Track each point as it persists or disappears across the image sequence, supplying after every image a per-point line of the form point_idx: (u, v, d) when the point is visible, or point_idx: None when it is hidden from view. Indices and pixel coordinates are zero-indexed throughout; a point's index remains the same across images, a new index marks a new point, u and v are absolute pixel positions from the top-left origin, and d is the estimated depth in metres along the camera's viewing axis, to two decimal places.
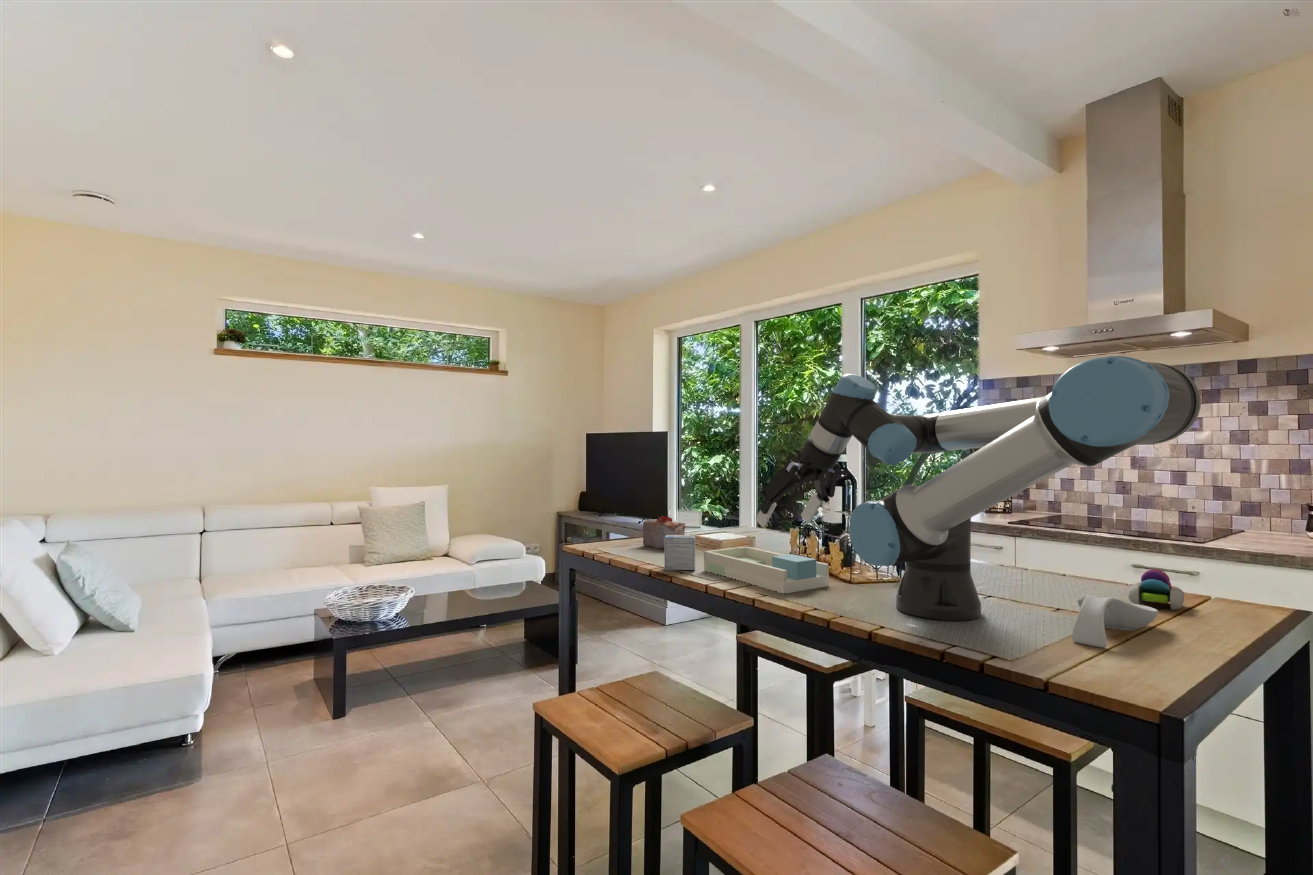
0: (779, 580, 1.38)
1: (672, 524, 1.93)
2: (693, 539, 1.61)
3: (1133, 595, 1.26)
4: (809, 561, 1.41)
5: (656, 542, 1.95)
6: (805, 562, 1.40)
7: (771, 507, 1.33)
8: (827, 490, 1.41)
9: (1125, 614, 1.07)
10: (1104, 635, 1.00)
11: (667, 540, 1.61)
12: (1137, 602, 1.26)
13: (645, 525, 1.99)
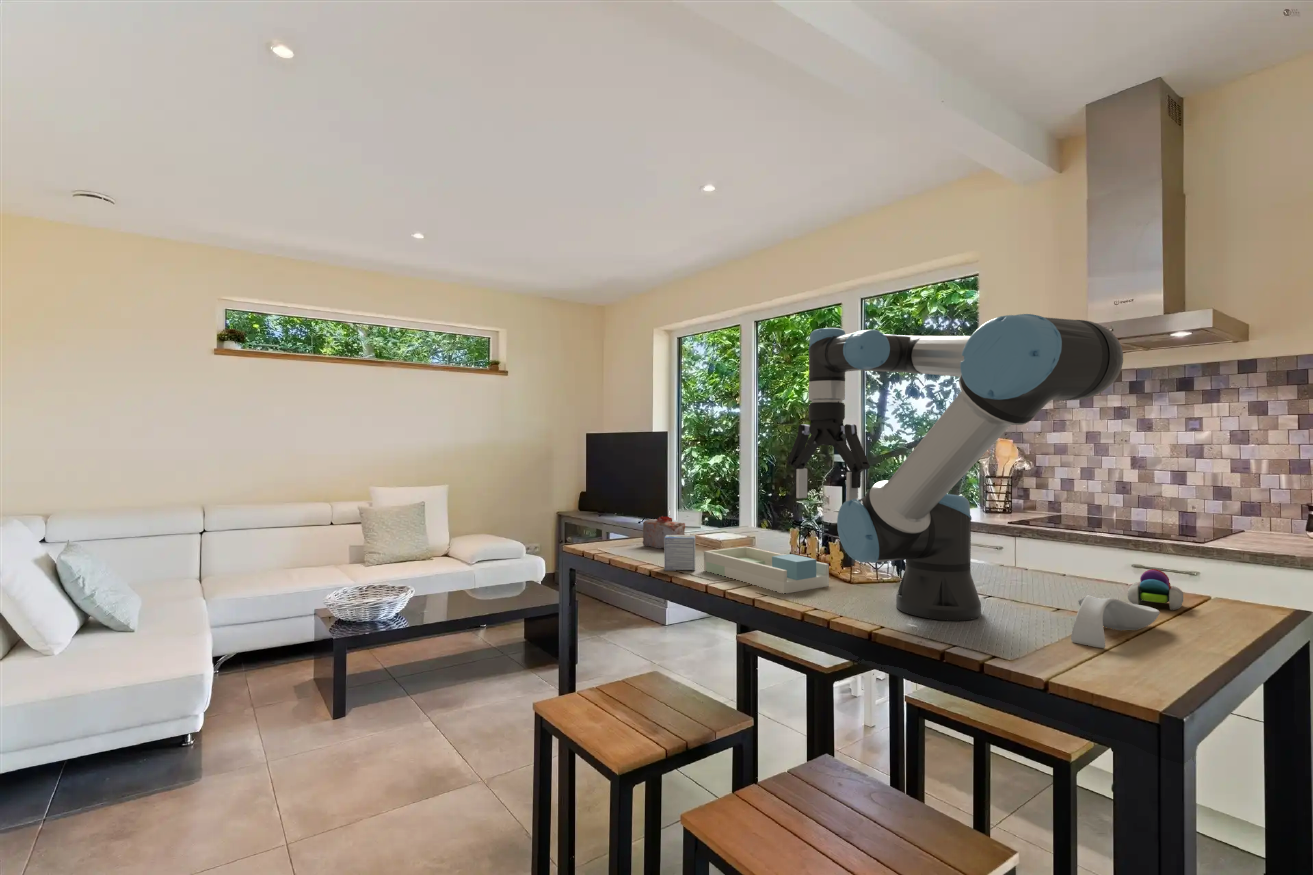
0: (779, 580, 1.38)
1: (672, 524, 1.93)
2: (693, 539, 1.61)
3: (1132, 595, 1.26)
4: (809, 561, 1.41)
5: (656, 542, 1.95)
6: (805, 562, 1.40)
7: None
8: None
9: (1126, 614, 1.07)
10: (1103, 635, 1.00)
11: (667, 540, 1.61)
12: (1136, 602, 1.26)
13: (645, 525, 1.99)
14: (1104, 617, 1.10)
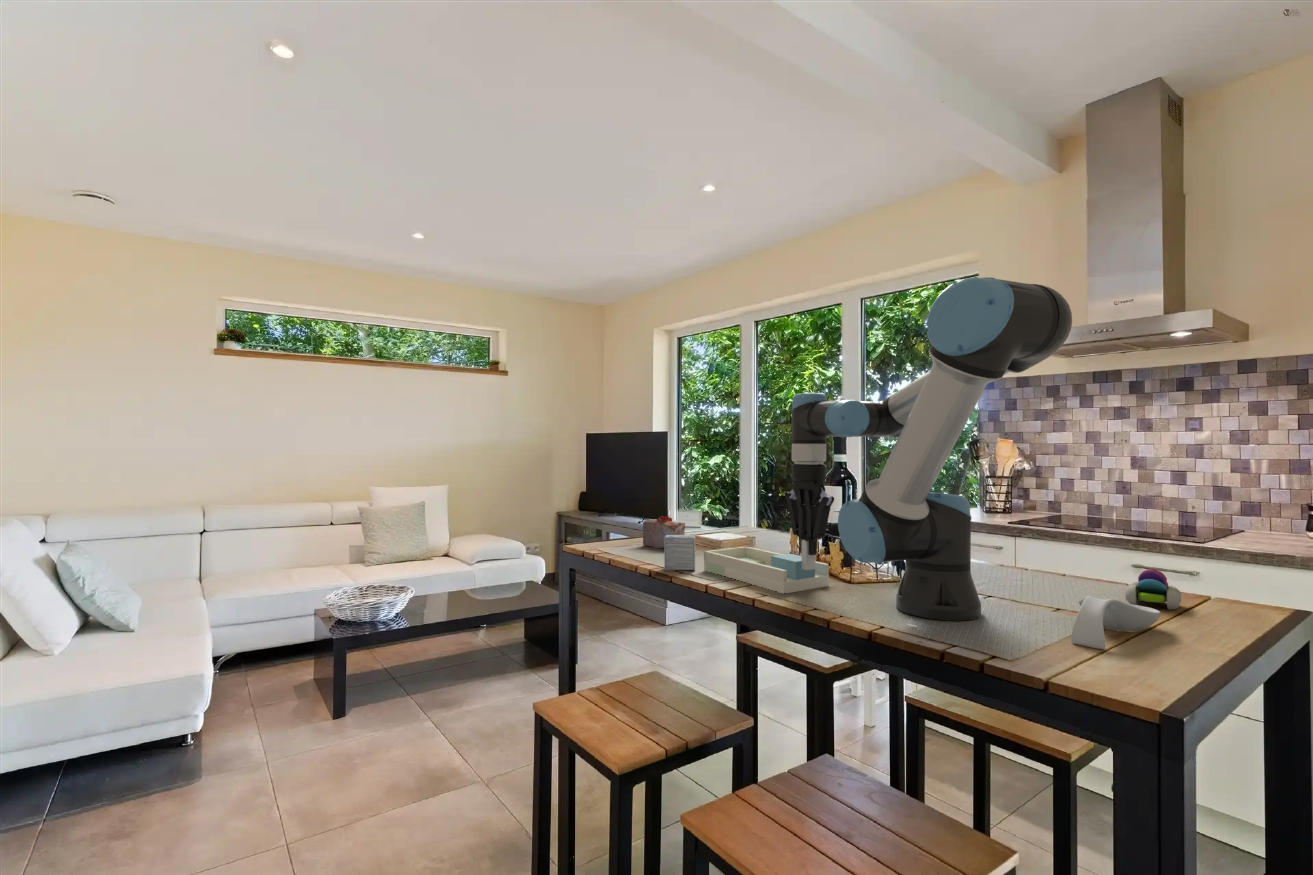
0: (779, 580, 1.38)
1: (672, 524, 1.93)
2: (693, 539, 1.61)
3: (1130, 595, 1.26)
4: None
5: (656, 542, 1.96)
6: None
7: None
8: None
9: (1126, 615, 1.07)
10: (1103, 637, 1.00)
11: (667, 540, 1.61)
12: (1134, 602, 1.26)
13: (645, 525, 1.99)
14: (1105, 618, 1.09)
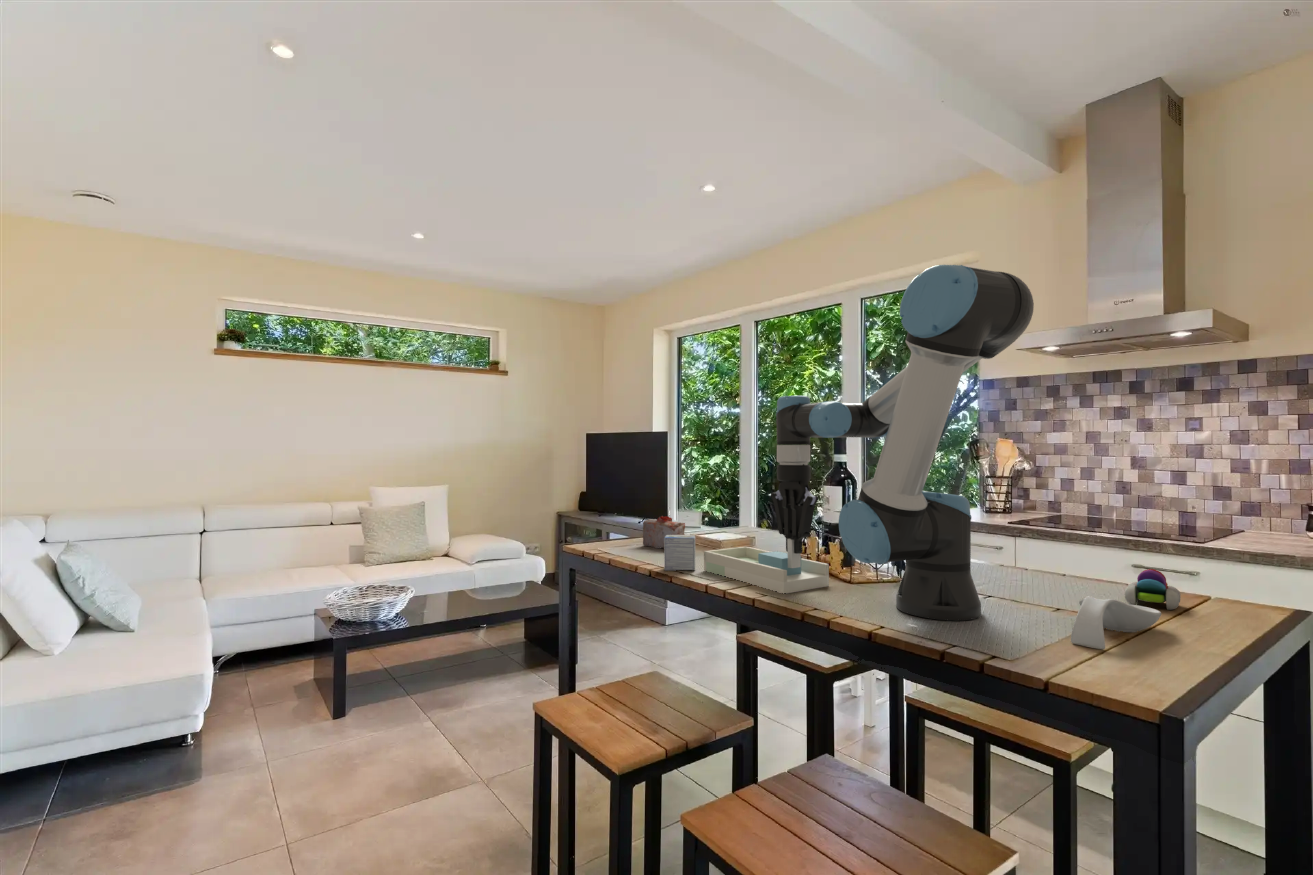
0: (779, 580, 1.38)
1: (672, 524, 1.93)
2: (693, 539, 1.61)
3: (1129, 595, 1.26)
4: None
5: (656, 542, 1.96)
6: None
7: None
8: None
9: (1127, 615, 1.06)
10: (1103, 637, 1.00)
11: (667, 540, 1.61)
12: (1133, 602, 1.26)
13: (645, 524, 1.99)
14: (1105, 618, 1.09)
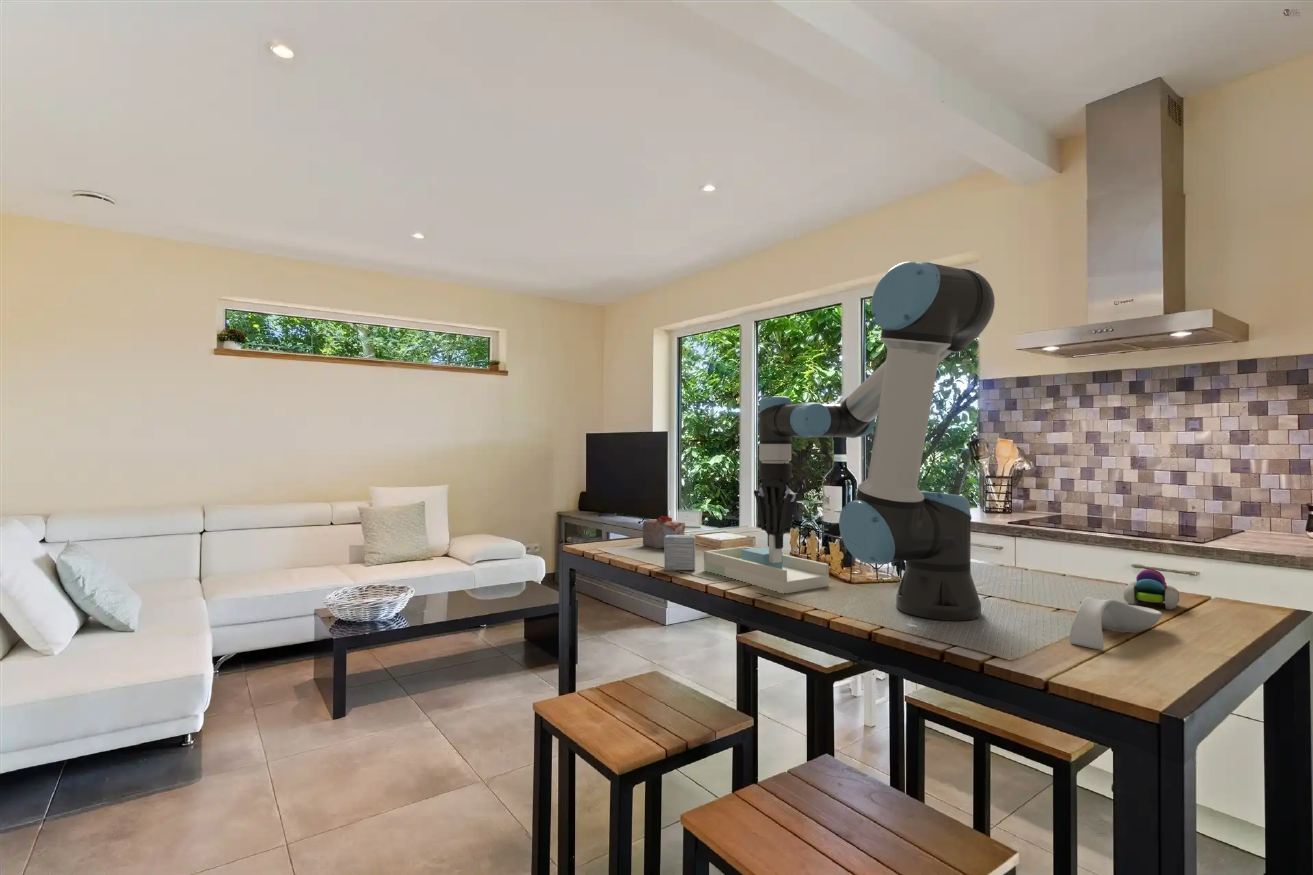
0: (779, 580, 1.38)
1: (672, 524, 1.93)
2: (693, 539, 1.61)
3: (1128, 595, 1.27)
4: None
5: (656, 542, 1.96)
6: None
7: None
8: None
9: (1126, 616, 1.06)
10: (1101, 637, 0.99)
11: (667, 540, 1.61)
12: (1132, 602, 1.26)
13: (644, 525, 1.99)
14: (1105, 619, 1.09)
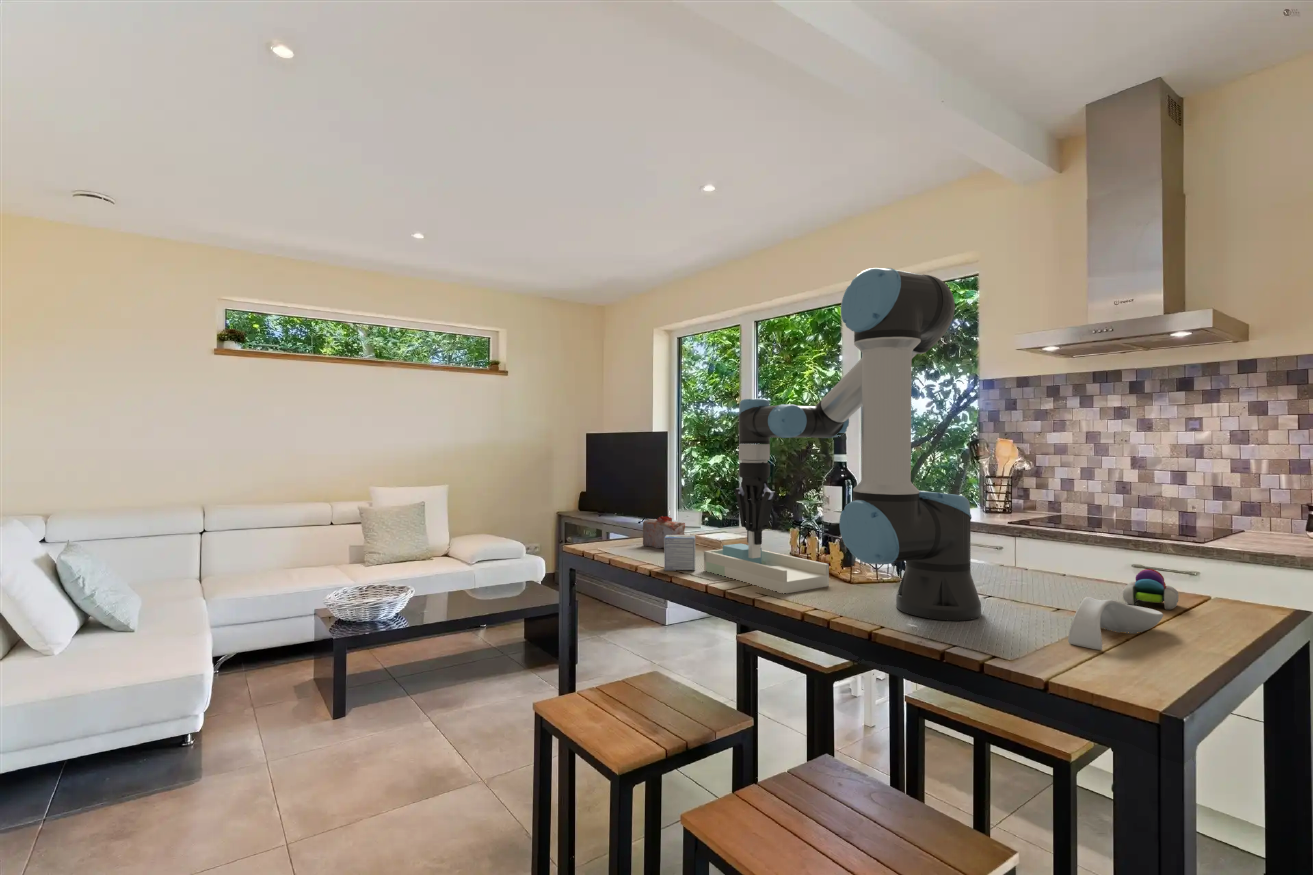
0: (779, 580, 1.38)
1: (672, 524, 1.93)
2: (693, 539, 1.61)
3: (1127, 595, 1.27)
4: None
5: (656, 542, 1.96)
6: None
7: None
8: None
9: (1127, 616, 1.06)
10: (1100, 637, 0.99)
11: (667, 540, 1.61)
12: (1131, 602, 1.26)
13: (644, 524, 1.99)
14: (1105, 619, 1.08)
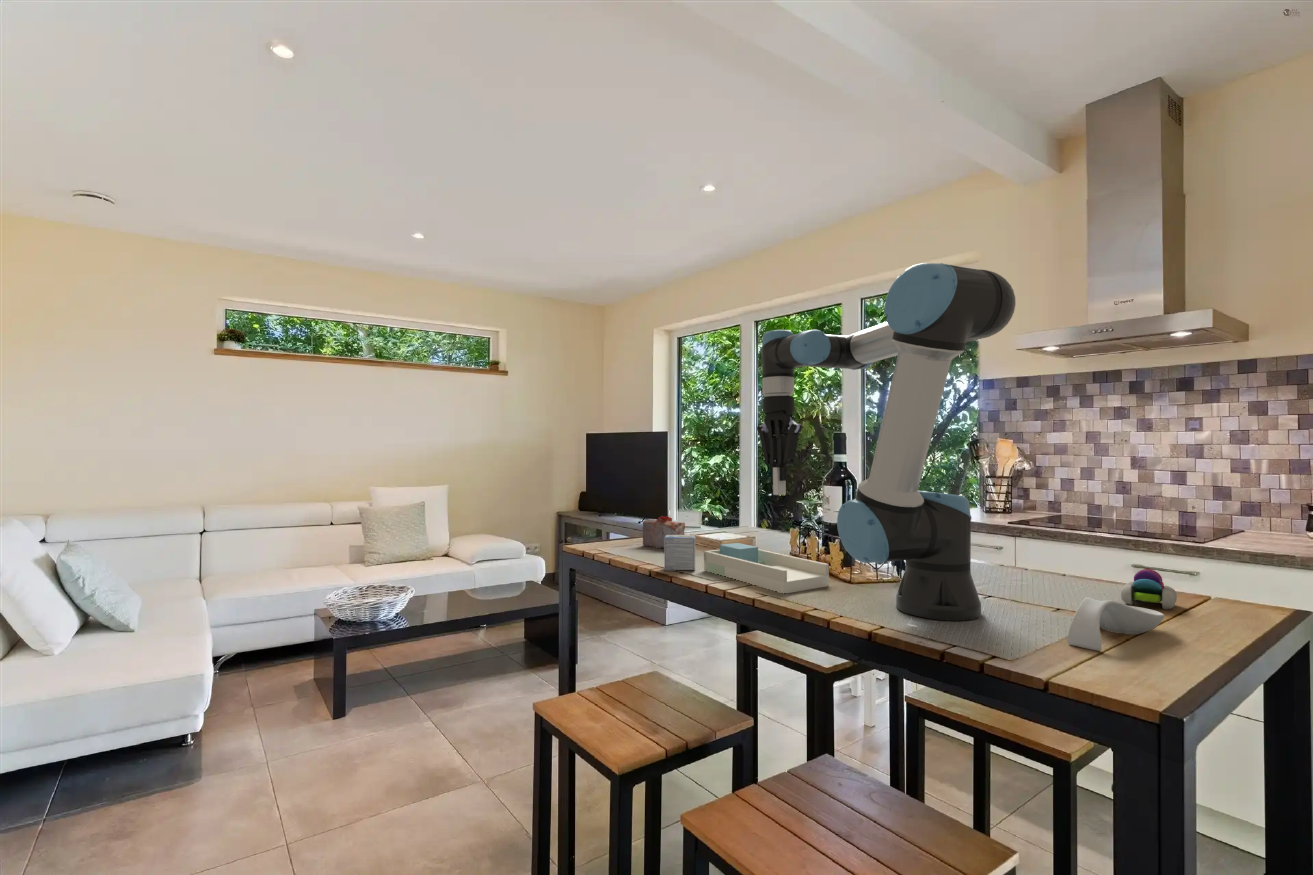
0: (779, 580, 1.38)
1: (672, 524, 1.94)
2: (693, 539, 1.61)
3: (1125, 595, 1.27)
4: (751, 548, 1.57)
5: (656, 542, 1.96)
6: (747, 549, 1.57)
7: None
8: None
9: (1127, 617, 1.05)
10: (1099, 638, 0.99)
11: (667, 540, 1.61)
12: (1129, 601, 1.26)
13: (644, 524, 1.99)
14: (1105, 620, 1.08)
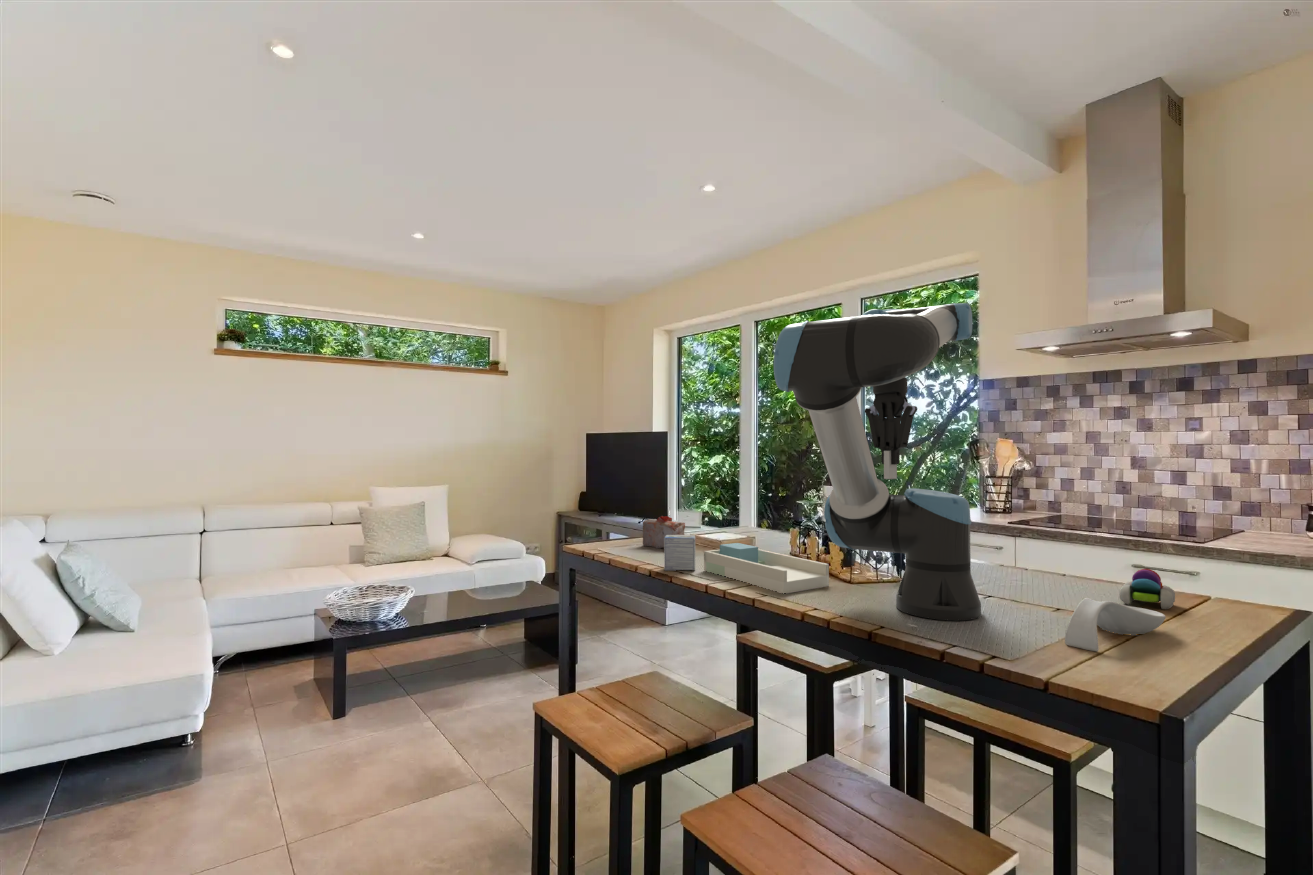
0: (779, 580, 1.38)
1: (672, 524, 1.94)
2: (693, 539, 1.61)
3: (1124, 595, 1.27)
4: (751, 548, 1.57)
5: (656, 542, 1.96)
6: (747, 549, 1.57)
7: None
8: None
9: (1127, 618, 1.05)
10: (1096, 638, 0.99)
11: (667, 540, 1.61)
12: (1128, 601, 1.26)
13: (644, 524, 1.99)
14: (1105, 621, 1.08)
